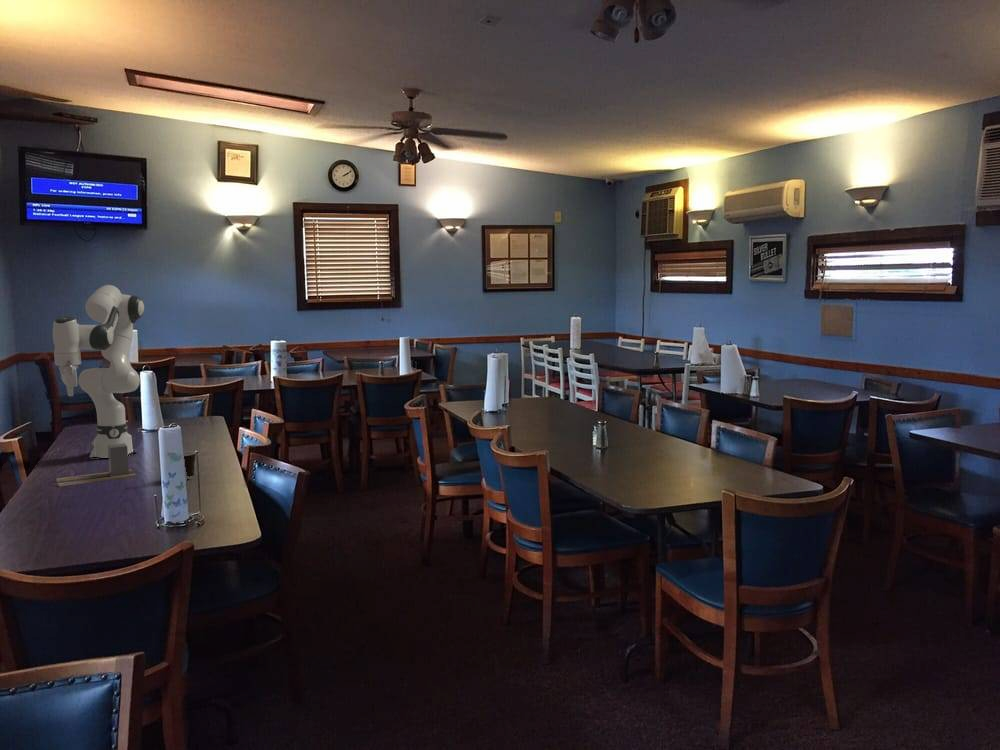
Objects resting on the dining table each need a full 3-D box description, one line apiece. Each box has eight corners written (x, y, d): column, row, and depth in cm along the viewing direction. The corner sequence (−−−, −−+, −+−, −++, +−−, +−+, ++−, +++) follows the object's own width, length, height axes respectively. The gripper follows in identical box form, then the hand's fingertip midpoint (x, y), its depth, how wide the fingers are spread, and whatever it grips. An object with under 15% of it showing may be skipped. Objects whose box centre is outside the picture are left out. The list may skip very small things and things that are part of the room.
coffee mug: (191, 481, 294) (190, 456, 292) (169, 481, 294) (168, 456, 292) (203, 474, 305) (202, 449, 304) (181, 474, 305) (180, 449, 304)
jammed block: (109, 475, 297) (107, 445, 296) (126, 473, 301) (124, 443, 299) (111, 478, 292) (109, 447, 291) (128, 476, 296) (127, 446, 294)
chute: (56, 484, 289) (56, 478, 289) (131, 474, 304) (131, 469, 303) (58, 489, 281) (58, 484, 281) (136, 479, 296) (135, 474, 295)
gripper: (80, 362, 285) (82, 398, 286) (74, 357, 301) (77, 391, 303) (60, 363, 281) (63, 400, 283) (56, 358, 298) (58, 393, 300)
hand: (70, 395), depth 293 cm, fingers closed
